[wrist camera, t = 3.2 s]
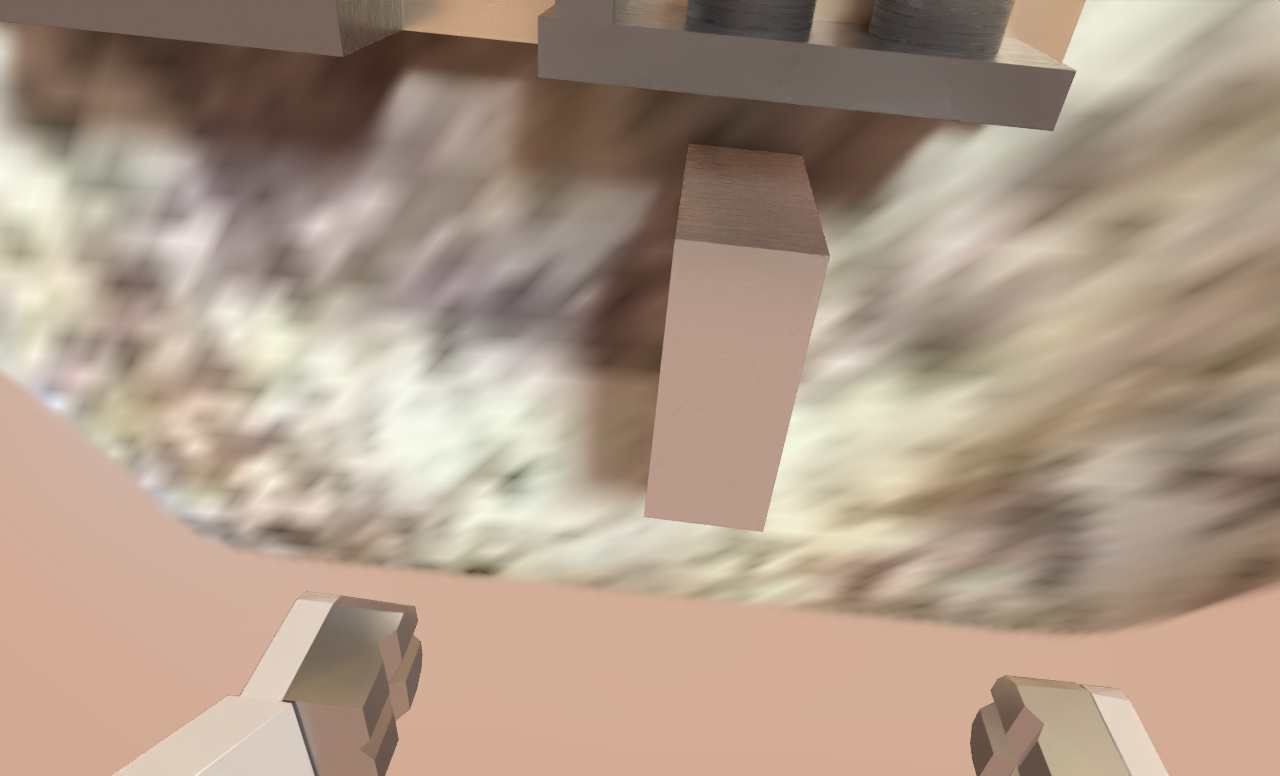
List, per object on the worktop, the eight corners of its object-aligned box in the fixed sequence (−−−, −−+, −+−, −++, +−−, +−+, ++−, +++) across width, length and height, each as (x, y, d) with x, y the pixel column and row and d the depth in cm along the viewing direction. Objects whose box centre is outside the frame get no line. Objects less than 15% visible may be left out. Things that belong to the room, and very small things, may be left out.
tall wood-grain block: (801, 154, 18) (830, 256, 13) (754, 387, 22) (762, 531, 17) (688, 142, 18) (674, 238, 13) (662, 376, 22) (643, 516, 17)
